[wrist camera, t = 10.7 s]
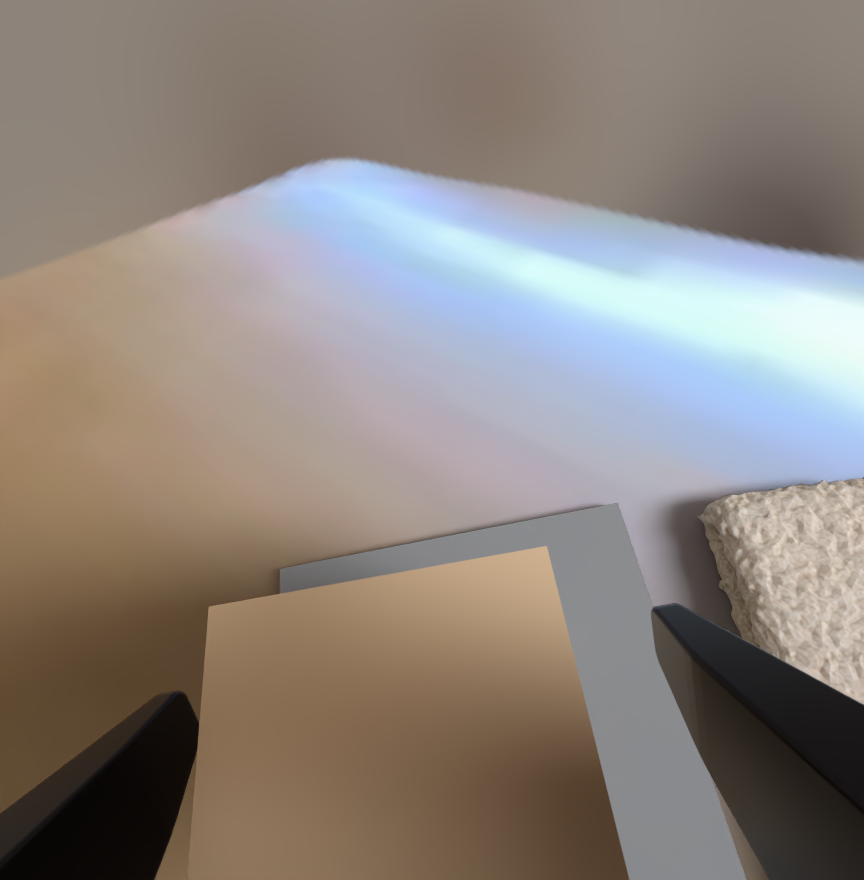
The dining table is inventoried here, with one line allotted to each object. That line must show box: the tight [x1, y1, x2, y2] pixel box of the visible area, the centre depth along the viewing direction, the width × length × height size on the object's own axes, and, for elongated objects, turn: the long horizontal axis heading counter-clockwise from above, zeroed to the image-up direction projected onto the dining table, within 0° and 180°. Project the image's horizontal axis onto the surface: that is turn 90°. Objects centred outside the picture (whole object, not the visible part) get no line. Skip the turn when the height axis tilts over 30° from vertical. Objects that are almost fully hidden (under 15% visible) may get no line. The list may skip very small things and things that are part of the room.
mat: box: [280, 503, 746, 880], centre depth 15 cm, size 12×12×1 cm
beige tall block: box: [187, 546, 629, 880], centre depth 10 cm, size 5×5×10 cm
